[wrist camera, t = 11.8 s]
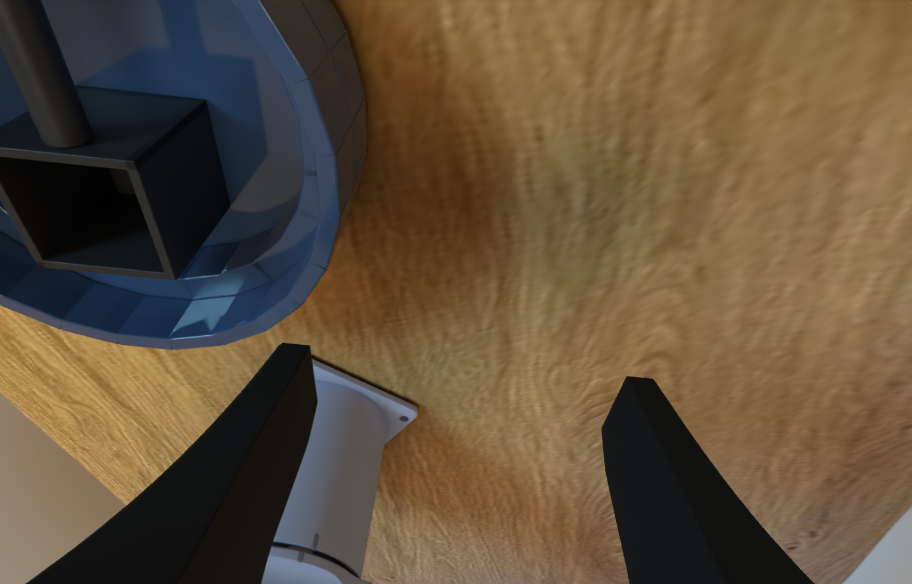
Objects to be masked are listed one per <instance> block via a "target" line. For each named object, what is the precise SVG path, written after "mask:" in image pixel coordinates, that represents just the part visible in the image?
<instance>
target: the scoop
mask: <svg viewBox="0 0 912 584" xmlns="http://www.w3.org/2000/svg"><path fill="white" fill-rule="evenodd" d="M0 51H1V53H2V55H3V58H4V60H5V62H6V64H7V66H8V68H9V70H10V73H11V75H12V77H13V79H14V81H15V83H16V85H17V88H18V90H19V92H20V94H21V96H22V98H23V100H24V103H25V105H26V107H27V109H28V111H27V112H25V113H24V114H22V115H20V116H18V117H16V118H15V119H13V120H11V121H9V122H7V123H6V124H4V125H2V126H0V201H1V202H2V204H3V206H4V208H5V209H6V211H7V213H8V215H9V216H10V218H11V220H12V222H13V223H14V225H15V227H16V229H17V230H18V232H19V234H20V236H21V237H22V239H23V241H24V243H25V244H26V246H27V248H28V250H29V251H30V253H31V255H32V257H33V258H34V260H35V262H36V264H37V265H38V267H43V268H53V269H64V270H74V271H84V272H94V273H104V274H114V275H124V276H134V277H144V278H154V279H164V280H174V281H176V280H177V279H178V277H179V276H180V275H181V273H182V272H183V271H184V269H185V268H186V266H187V265H188V264H189V262H190V261H191V260H192V258H193V257H194V256H195V254H196V253H197V251H198V250H199V249H200V247H201V246H202V245H203V243H204V242H205V241H206V239H207V238H208V236H209V235H210V234H211V232H212V231H213V230H214V228H215V227H216V226H217V224H218V223H219V221H220V220H221V219H222V217H223V216H224V215H225V213H226V212H227V210H228V209H229V208H230V202H229V198H228V193H227V189H226V185H225V180H224V176H223V172H222V167H221V163H220V159H219V154H218V150H217V146H216V141H215V137H214V133H213V128H212V124H211V120H210V115H209V111H208V107H207V103H206V100H205V99H196V98H187V97H178V96H169V95H159V94H150V93H141V92H132V91H122V90H113V89H104V88H95V87H85V86H76V85H74V83H73V80H72V77H71V75H70V72H69V70H68V67H67V65H66V62H65V60H64V57H63V55H62V52H61V50H60V47H59V44H58V42H57V39H56V37H55V34H54V32H53V29H52V27H51V24H50V22H49V19H48V16H47V14H46V11H45V9H44V6H43V4H42V1H41V0H0Z"/></svg>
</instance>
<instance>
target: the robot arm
mask: <svg viewBox="0 0 912 584" xmlns="http://www.w3.org/2000/svg"><path fill="white" fill-rule="evenodd" d="M417 416H418V408H417V407H416V406H414V405H412V404H410V403H408V402H406V401H404V400H401V399H399V398H397V397H395V396H393V395H391V394H388V393H386V392H384V391H382V390H380V389H377V388H375V387H373V386H371V385H369V384H366V383H364V382H362V381H360V380H358V379H355V378H353V377H351V376H349V375H347V374H344V373H342V372H340V371H338V370H336V369H333V368H331V367H329V366H327V365H325V364H322V363H320V362H318V361H316V360H314V359H312V356H311V349H310V345H300V344H289V343H282V344H281V345H279V346H278V347H277V348H276V350H275V351H274V352H273V354H272V355H271V356H270V357H269V359H268V360H267V361H266V362H265V364H264V365H263V366H262V367H261V369H260V370H259V371H258V372H257V374H256V375H255V376H254V377H253V378H252V380H251V381H250V382H249V383H248V384H247V386H246V387H245V388H244V389H243V390H242V391H241V393H240V394H239V395H238V396H237V397H236V398H235V399H234V400H233V402H232V403H231V404H230V405H229V406H228V407H227V408H226V409H225V411H224V412H223V413H222V414H221V415H220V416H219V417H218V418H217V419H216V421H215V422H214V423H213V424H212V425H211V426H210V427H209V428H208V429H207V430H206V431H205V432H204V433H203V434H202V435H201V436H200V437H199V438H198V439H197V440H196V441H195V442H194V443H193V444H192V445H191V446H190V447H189V448H188V449H187V450H186V451H185V452H184V453H183V454H182V456H181V457H179V458H178V459H177V460H176V461H175V462H174V463H173V464H172V465H171V466H170V467H169V468H168V469H167V470H166V471H165V472H164V473H163V474H162V475H161V476H159V477H158V478H157V479H156V480H155V481H154V482H153V483H152V484H151V485H150V486H148V487H147V488H146V489H145V490H144V491H143V492H142V493H141V494H139V495H138V496H137V497H136V498H135V499H134V500H133V501H131V502H130V503H129V504H128V505H127V506H125V507H124V508H123V509H122V510H121V511H119V512H118V513H117V514H116V515H115V516H113V517H112V518H111V519H110V520H109V521H107V522H106V523H105V524H104V525H103V526H101V527H100V528H99V529H98V530H97V531H95V532H94V533H93V534H91V535H90V536H89V537H88V538H86V539H85V540H84V541H83V542H81V543H80V544H79V545H77V546H76V547H75V548H74V549H72V550H71V551H70V552H68V553H67V554H65V555H64V556H63V557H61V558H60V559H59V560H57V561H56V562H55V563H53V564H52V565H50V566H49V567H48V568H46V569H45V570H44V571H42V572H41V573H40V574H38V575H37V576H36V577H34V578H33V579H32V580H30V581H29V582H27V583H26V584H372V583H371V582H369V581H365V580H362V579H361V576H362V571H363V565H364V559H365V553H366V548H367V542H368V536H369V531H370V525H371V519H372V513H373V508H374V502H375V496H376V491H377V485H378V479H379V474H380V468H381V462H382V456H383V451H384V445H385V444H386V443H388V442H389V441H390V440H391V439H392V438H393V437H395V436H396V435H397V434H398V433H399V432H400V431H401V430H403V429H404V428H405V427H406V426H407V425H408V424H409V423H411V422H412V421H413V420H414V419H415V418H416V417H417ZM602 440H603V452H604V462H605V471H606V476H607V481H608V486H609V490H610V495H611V500H612V504H613V509H614V513H615V518H616V522H617V527H618V531H619V536H620V540H621V545H622V549H623V554H624V558H625V563H626V567H627V573H628V578H629V584H814V583H813V582H812V581H811V580H810V579H809V578H808V577H807V575H806V574H805V573H804V572H803V571H802V570H801V569H800V568H799V567H798V566H797V565H796V564H795V563H794V562H793V561H792V559H791V558H790V557H789V556H788V555H787V554H786V553H785V552H784V551H783V550H782V548H781V547H780V546H779V545H778V544H777V543H776V542H775V541H774V540H773V539H772V537H771V536H770V535H769V534H768V533H767V532H766V531H765V529H764V528H763V527H762V526H761V525H760V524H759V522H758V521H757V520H756V519H755V518H754V516H753V515H752V514H751V513H750V511H749V510H748V509H747V508H746V507H745V505H744V504H743V503H742V502H741V500H740V499H739V498H738V497H737V495H736V494H735V493H734V492H733V490H732V489H731V488H730V486H729V485H728V484H727V482H726V481H725V480H724V479H723V477H722V476H721V475H720V473H719V472H718V471H717V469H716V468H715V466H714V465H713V464H712V462H711V461H710V460H709V458H708V457H707V456H706V454H705V453H704V451H703V450H702V449H701V447H700V446H699V445H698V443H697V442H696V440H695V439H694V437H693V436H692V435H691V433H690V432H689V430H688V429H687V427H686V426H685V425H684V423H683V422H682V420H681V419H680V417H679V416H678V414H677V413H676V411H675V410H674V408H673V407H672V405H671V404H670V403H669V401H668V400H667V398H666V397H665V395H664V394H663V392H662V391H661V389H660V388H659V386H658V385H657V383H656V382H655V381H654V379H650V378H639V377H629V376H627V377H626V379H625V381H624V383H623V385H622V387H621V389H620V391H619V393H618V395H617V397H616V399H615V401H614V404H613V406H612V408H611V410H610V412H609V414H608V416H607V418H606V420H605V422H604V424H603V426H602Z"/></svg>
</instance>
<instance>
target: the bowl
mask: <svg viewBox="0 0 912 584" xmlns="http://www.w3.org/2000/svg"><path fill="white" fill-rule="evenodd" d="M41 1H42V4H43V6H44V9H45V11H46V14H47V16H48V19H49V22H50V24H51V27H52V29H53V32H54V34H55V37H56V39H57V42H58V44H59V47H60V50H61V52H62V55H63V57H64V60H65V62H66V65H67V67H68V70H69V72H70V75H71V77H72V80H73V83H74V85H76V86H85V87H95V88H104V89H113V90H122V91H132V92H141V93H150V94H159V95H169V96H178V97H187V98H196V99H205V100H206V103H207V107H208V111H209V115H210V120H211V124H212V128H213V133H214V137H215V141H216V146H217V150H218V154H219V159H220V163H221V167H222V172H223V176H224V180H225V185H226V189H227V193H228V198H229V202H230V208H229V209H228V210H227V212H226V213H225V215H224V216H223V217H222V219H221V220H220V221H219V223H218V224H217V226H216V227H215V228H214V230H213V231H212V232H211V234H210V235H209V236H208V238H207V239H206V241H205V242H204V243H203V245H202V246H201V247H200V249H199V250H198V251H197V253H196V254H195V256H194V257H193V258H192V260H191V261H190V262H189V264H188V265H187V266H186V268H185V269H184V271H183V272H182V273H181V275H180V276H179V277H178V279H177V280H176V281H174V280H164V279H154V278H144V277H134V276H124V275H114V274H104V273H94V272H84V271H74V270H64V269H53V268H43V267H38V265H37V264H36V262H35V260H34V258H33V257H32V255H31V253H30V251H29V250H28V248H27V246H26V244H25V243H24V241H23V239H22V237H21V236H20V234H19V232H18V230H17V229H16V227H15V225H14V223H13V222H12V220H11V218H10V216H9V215H8V213H7V211H6V209H5V208H4V206H3V204H2V202H1V201H0V305H1V306H3V307H6V308H8V309H11V310H13V311H16V312H18V313H21V314H23V315H26V316H28V317H31V318H33V319H35V320H38V321H40V322H43V323H45V324H48V325H50V326H53V327H55V328H58V329H62V330H64V331H68V332H72V333H76V334H80V335H84V336H87V337H91V338H95V339H99V340H103V341H107V342H111V343H115V344H121V345H128V346H138V347H149V348H159V349H169V350H173V349H174V350H178V349H189V348H200V347H211V346H221V345H226V344H229V343H232V342H235V341H238V340H241V339H244V338H247V337H250V336H253V335H256V334H259V333H262V332H265V331H267V330H268V329H270V328H271V327H272V326H274V325H275V324H277V323H278V322H279V321H281V320H282V319H284V318H285V317H287V316H288V315H289V314H291V313H292V312H294V311H295V310H296V309H298V308H299V307H301V305H302V304H303V303H304V302H305V300H306V299H307V298H308V296H309V295H310V293H311V292H312V290H313V289H314V288H315V286H316V285H317V283H318V282H319V280H320V279H321V277H322V276H323V275H324V273H325V272H326V270H327V268H328V266H329V264H330V261H331V259H332V256H333V253H334V251H335V248H336V246H337V243H338V240H339V238H340V235H341V233H342V230H343V227H344V225H345V222H346V220H347V217H348V215H349V212H350V209H351V207H352V204H353V202H354V199H355V196H356V192H357V189H358V185H359V181H360V178H361V174H362V170H363V166H364V163H365V159H366V153H367V127H366V98H365V93H364V89H363V86H362V82H361V79H360V75H359V72H358V68H357V65H356V61H355V58H354V54H353V51H352V47H351V43H350V40H349V36H348V34H347V32H346V28H345V27H344V25H343V23H342V21H341V19H340V17H339V16H338V14H337V12H336V10H335V8H334V6H333V5H332V3H331V1H330V0H41ZM27 111H28V109H27V107H26V105H25V103H24V100H23V98H22V96H21V94H20V92H19V90H18V88H17V85H16V83H15V81H14V79H13V77H12V75H11V73H10V70H9V68H8V66H7V64H6V62H5V60H4V58H3V55H2V53H1V51H0V126H2V125H4V124H6V123H7V122H9V121H11V120H13V119H15V118H16V117H18V116H20V115H22V114H24V113H25V112H27Z"/></svg>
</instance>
